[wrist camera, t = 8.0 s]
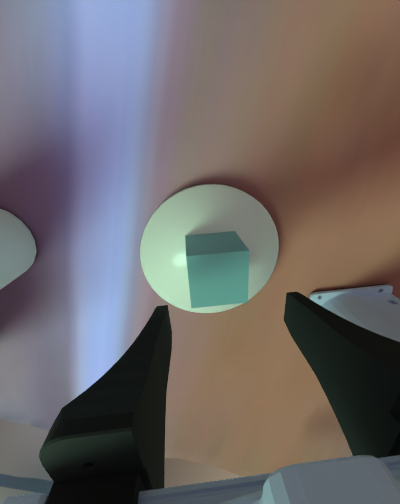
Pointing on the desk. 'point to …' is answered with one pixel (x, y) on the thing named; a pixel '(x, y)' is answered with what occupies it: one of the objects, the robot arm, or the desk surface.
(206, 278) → the teal block
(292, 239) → the desk surface
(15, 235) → the spray bottle
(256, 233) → the dish
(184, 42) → the desk surface
